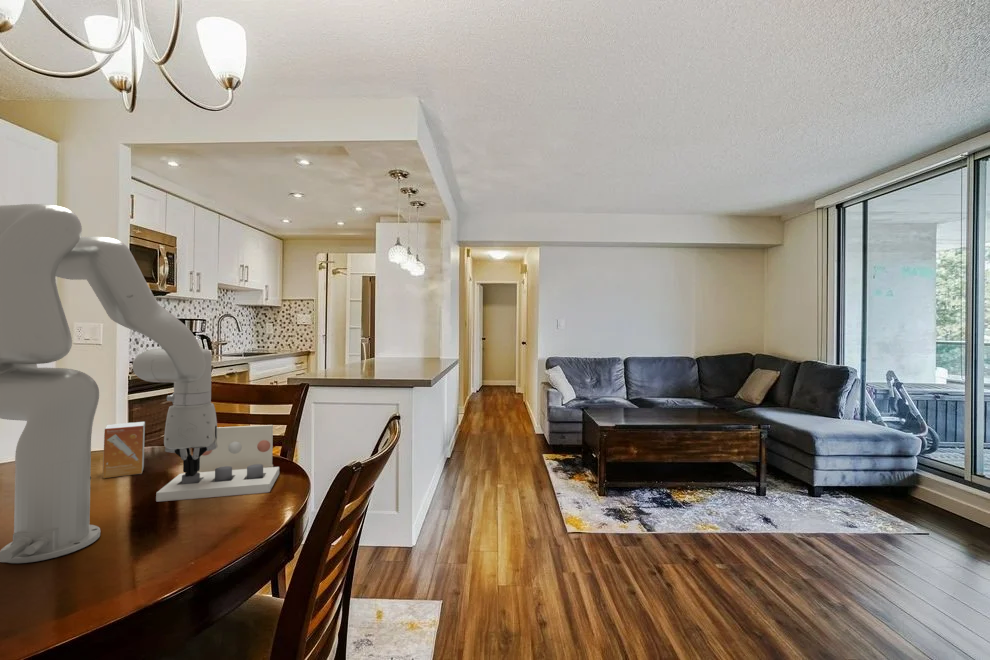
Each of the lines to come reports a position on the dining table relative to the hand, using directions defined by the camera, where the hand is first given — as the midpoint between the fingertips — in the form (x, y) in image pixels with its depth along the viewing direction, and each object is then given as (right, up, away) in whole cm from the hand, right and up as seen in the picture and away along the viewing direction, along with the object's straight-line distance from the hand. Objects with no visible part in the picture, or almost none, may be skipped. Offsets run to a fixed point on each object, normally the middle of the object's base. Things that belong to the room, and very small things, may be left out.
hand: (191, 474), depth 107 cm
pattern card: (+3, -4, +12) cm, 13 cm away
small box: (-25, -3, +11) cm, 28 cm away
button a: (0, -3, 0) cm, 3 cm away
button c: (+13, -2, +4) cm, 14 cm away
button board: (+7, -4, +2) cm, 8 cm away
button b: (+7, -2, +2) cm, 7 cm away
